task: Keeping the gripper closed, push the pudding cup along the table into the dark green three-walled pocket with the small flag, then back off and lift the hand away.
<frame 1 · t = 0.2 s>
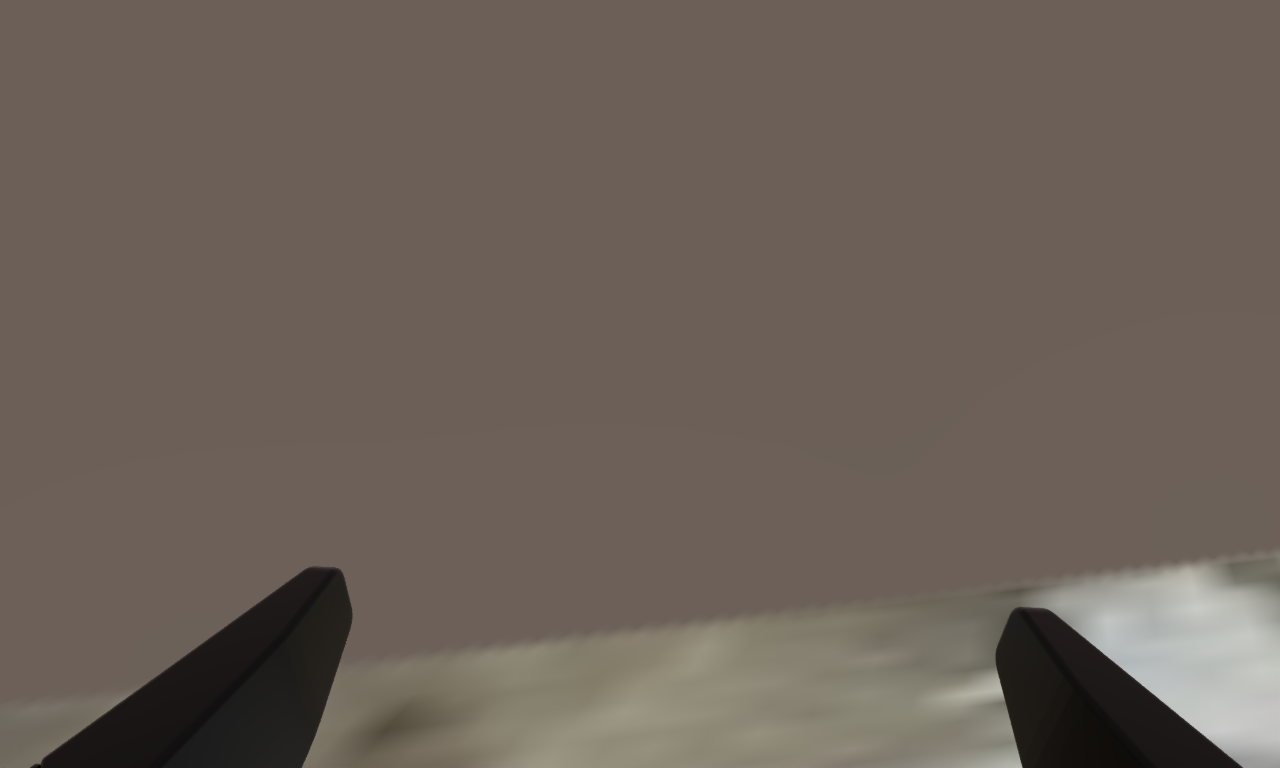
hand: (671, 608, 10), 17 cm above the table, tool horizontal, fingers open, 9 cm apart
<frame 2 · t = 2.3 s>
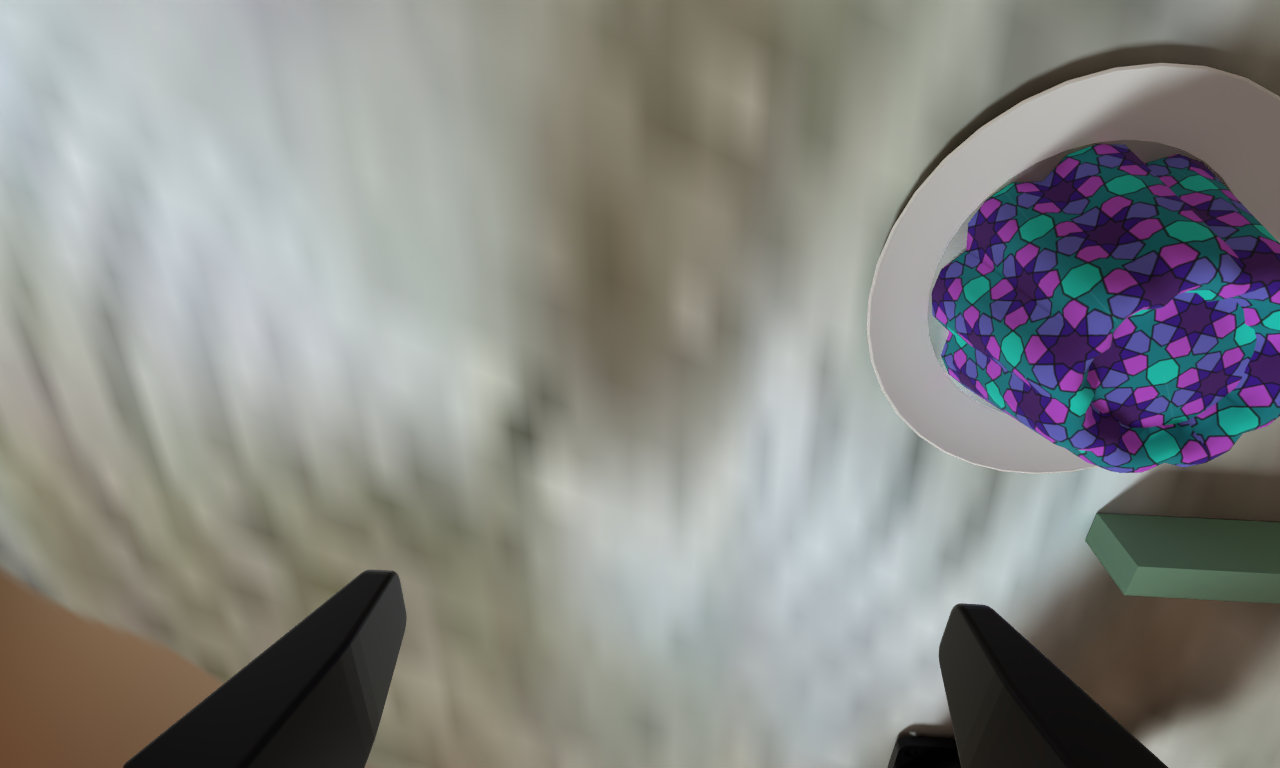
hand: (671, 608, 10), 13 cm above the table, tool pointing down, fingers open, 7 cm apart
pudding: (1072, 285, 21), on the table
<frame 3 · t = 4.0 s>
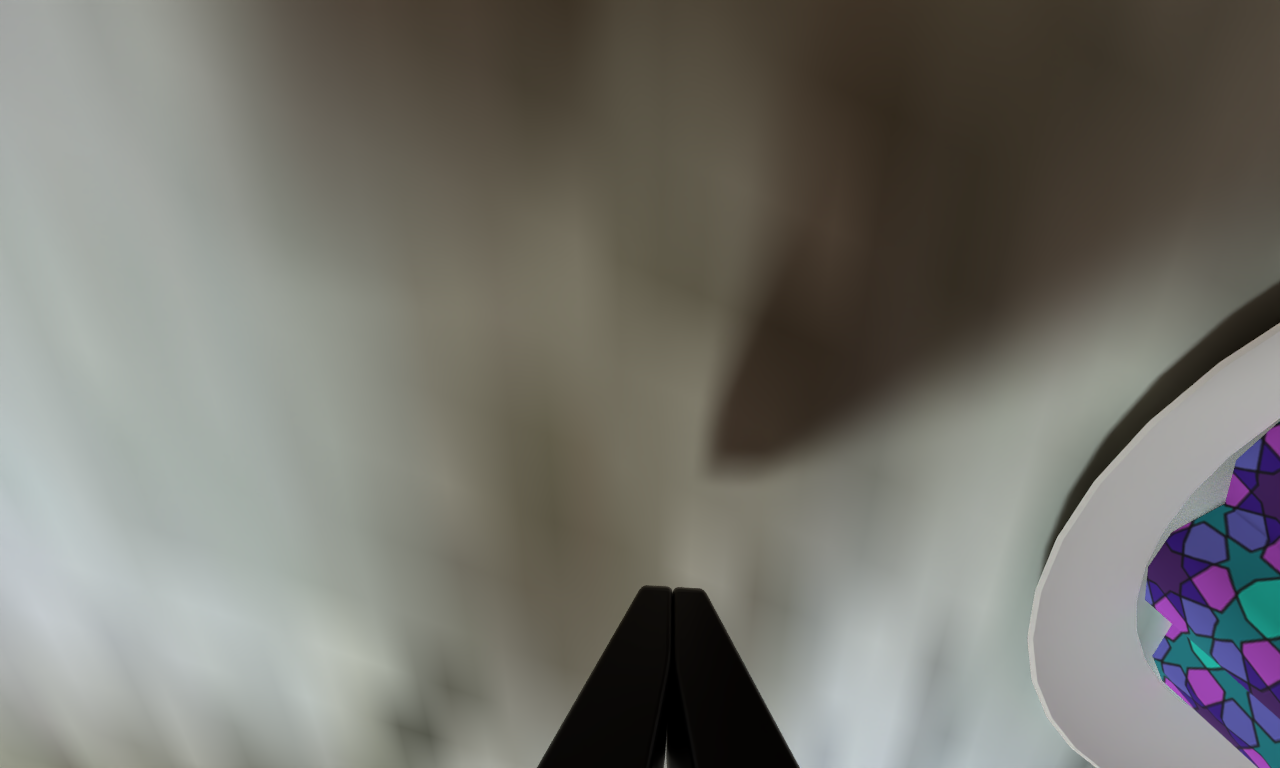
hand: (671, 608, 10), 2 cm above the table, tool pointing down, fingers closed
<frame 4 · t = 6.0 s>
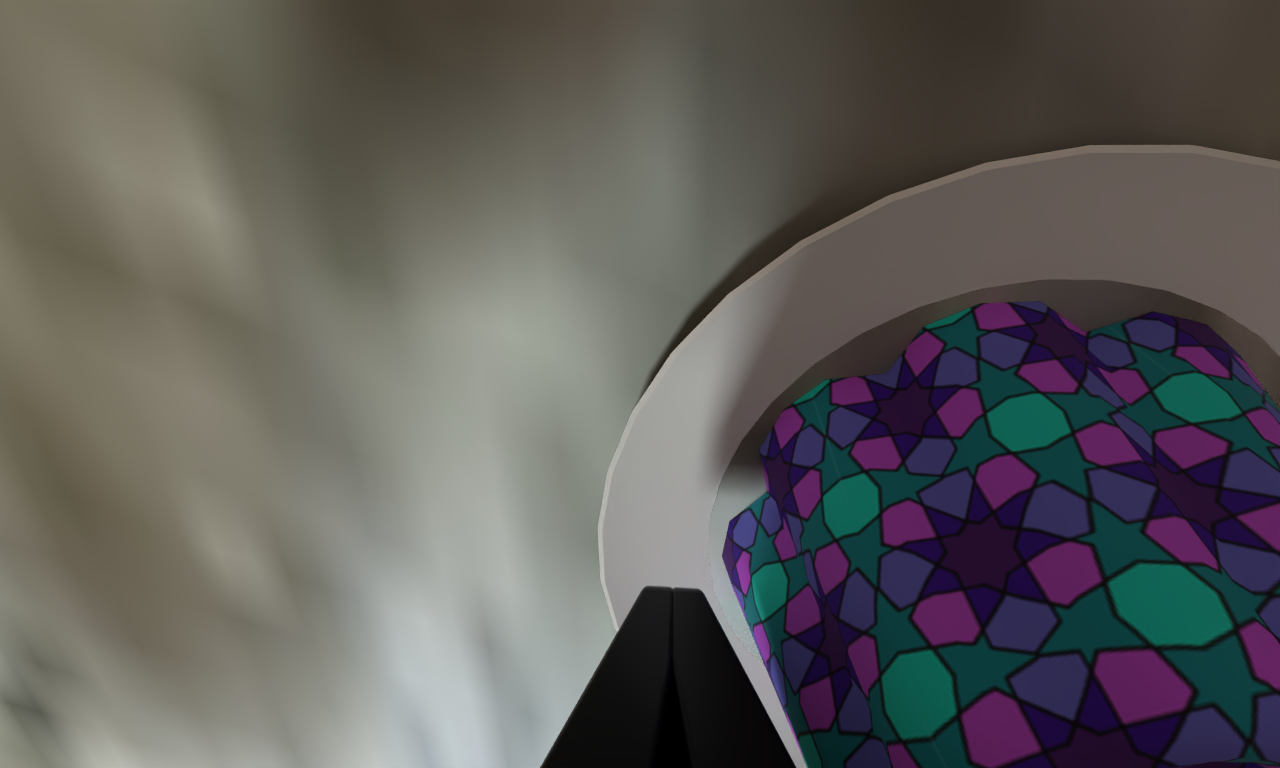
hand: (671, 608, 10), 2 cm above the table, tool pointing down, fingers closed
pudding: (981, 523, 11), on the table
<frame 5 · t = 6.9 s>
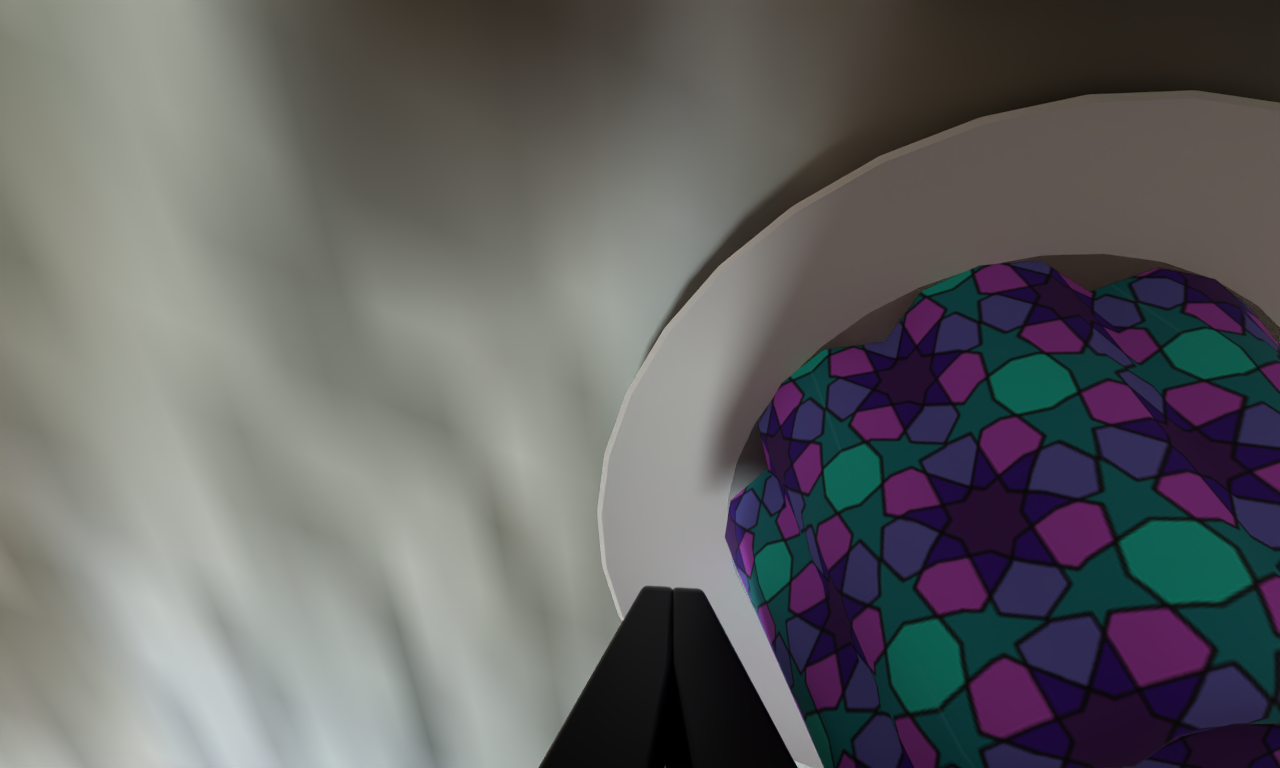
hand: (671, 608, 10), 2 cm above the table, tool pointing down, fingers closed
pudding: (991, 498, 11), on the table, touching gripper
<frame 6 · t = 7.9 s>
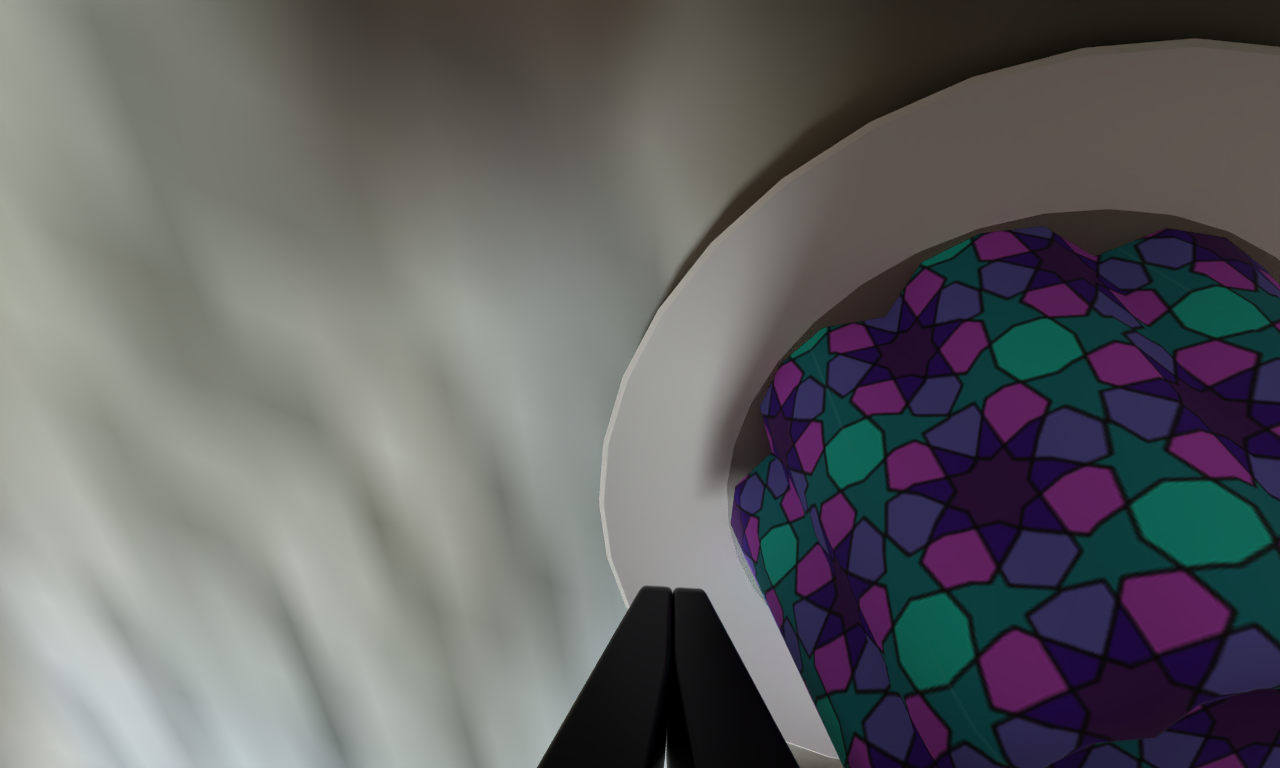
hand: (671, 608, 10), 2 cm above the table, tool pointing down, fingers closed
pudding: (1002, 474, 11), on the table
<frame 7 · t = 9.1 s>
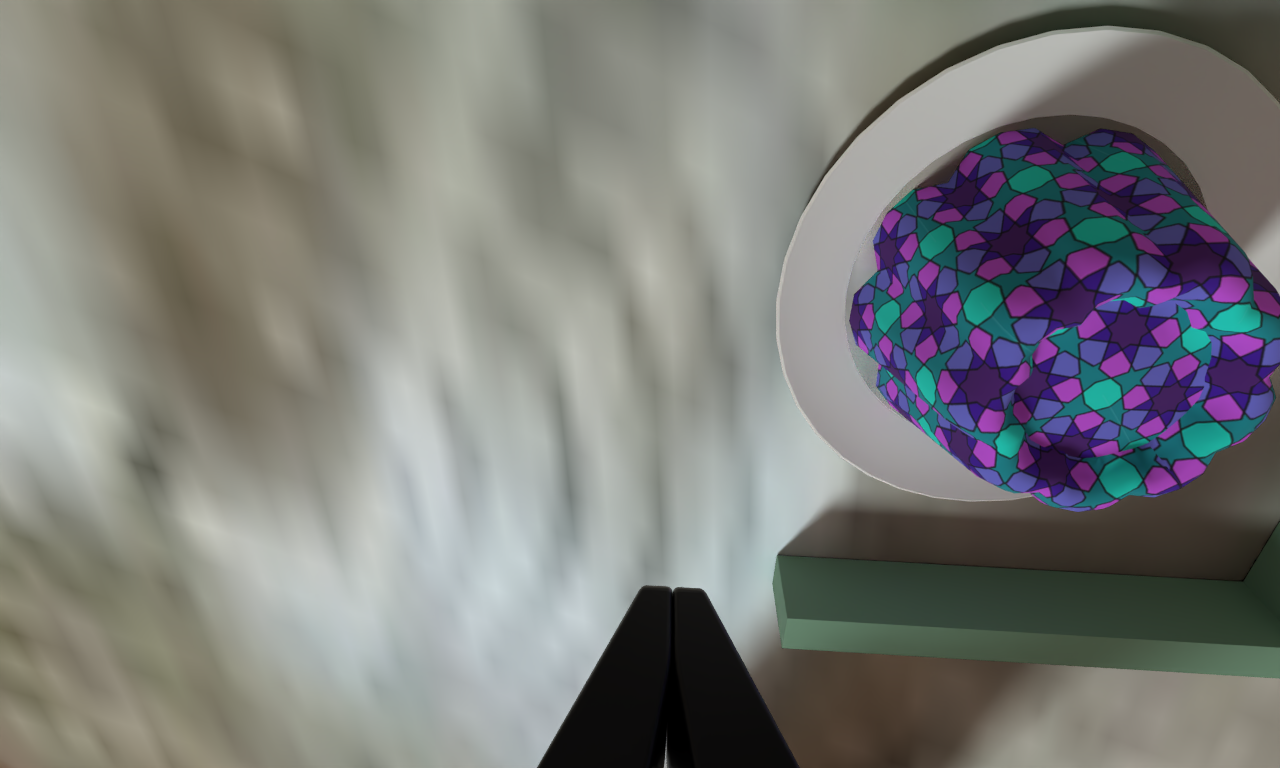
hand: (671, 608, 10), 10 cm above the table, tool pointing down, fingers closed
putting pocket: (1094, 339, 18), on the table
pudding: (1012, 289, 18), on the table
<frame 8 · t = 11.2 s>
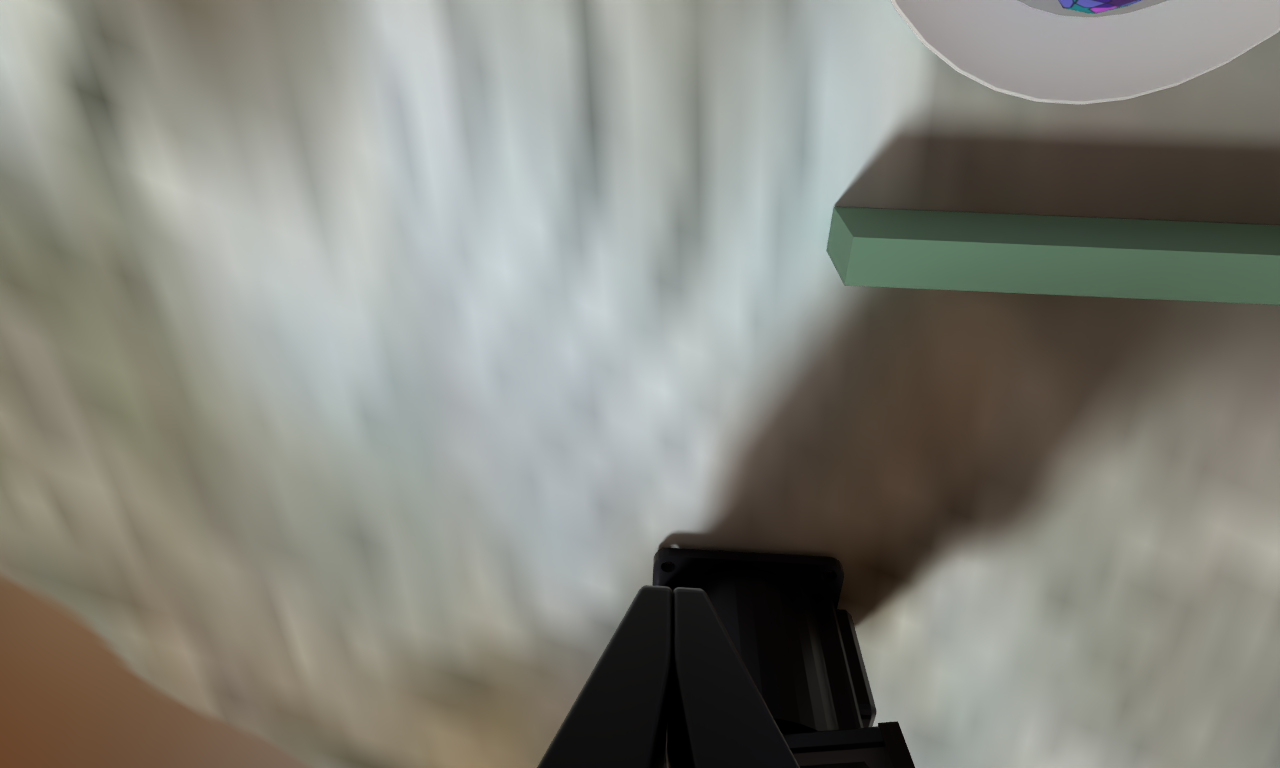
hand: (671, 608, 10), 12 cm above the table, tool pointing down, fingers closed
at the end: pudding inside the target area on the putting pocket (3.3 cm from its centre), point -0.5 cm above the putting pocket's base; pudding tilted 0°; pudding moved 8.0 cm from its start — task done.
